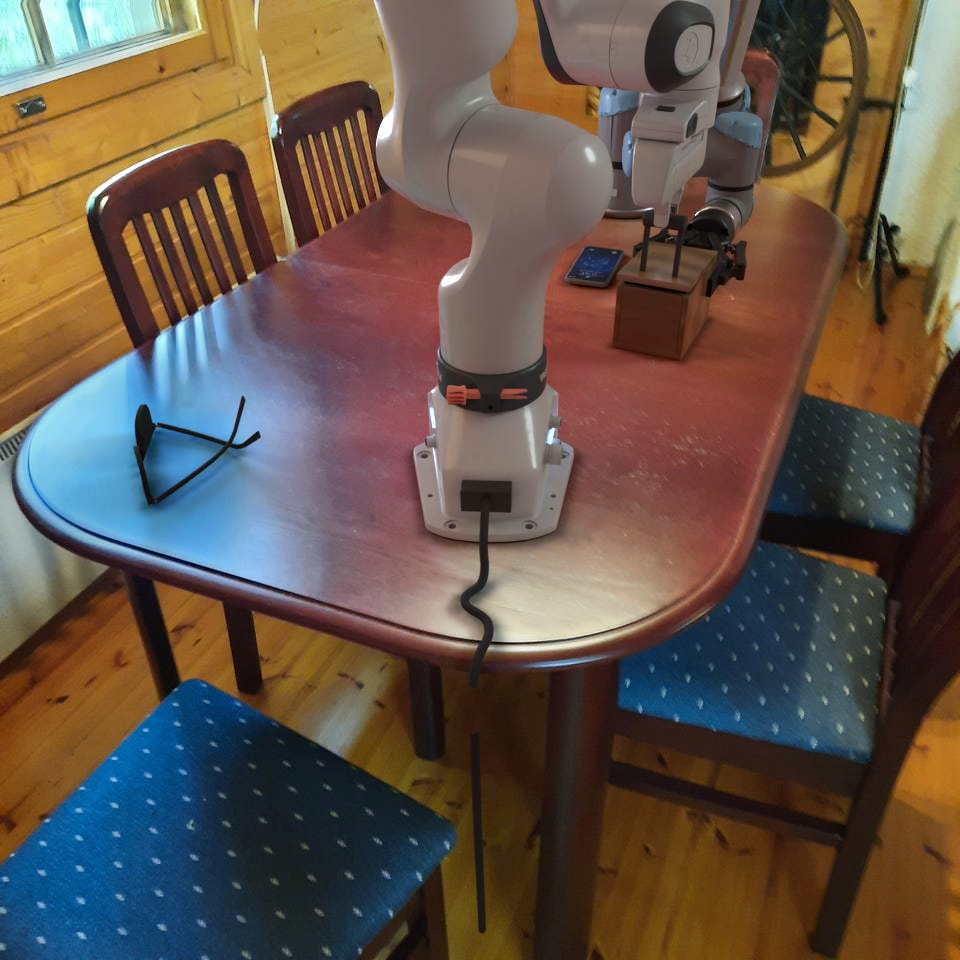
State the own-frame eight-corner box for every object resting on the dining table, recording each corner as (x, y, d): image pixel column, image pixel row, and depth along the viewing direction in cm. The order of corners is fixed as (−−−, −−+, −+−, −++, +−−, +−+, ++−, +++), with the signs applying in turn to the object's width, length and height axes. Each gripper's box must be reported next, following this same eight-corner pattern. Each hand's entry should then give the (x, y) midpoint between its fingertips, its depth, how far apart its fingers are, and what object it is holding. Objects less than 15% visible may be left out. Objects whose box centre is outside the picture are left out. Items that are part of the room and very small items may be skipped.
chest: (680, 360, 118) (689, 297, 113) (612, 346, 122) (616, 284, 116) (707, 317, 129) (717, 257, 123) (644, 306, 132) (649, 247, 127)
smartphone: (626, 249, 148) (607, 284, 137) (625, 255, 149) (607, 289, 137) (584, 244, 150) (562, 278, 139) (584, 249, 151) (562, 283, 139)
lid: (688, 292, 112) (698, 224, 107) (616, 279, 116) (622, 213, 111) (717, 257, 123) (727, 194, 118) (649, 246, 127) (657, 185, 122)
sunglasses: (270, 486, 97) (262, 449, 94) (137, 510, 94) (125, 474, 91) (257, 411, 110) (250, 377, 107) (140, 430, 107) (130, 396, 104)
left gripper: (677, 89, 112) (665, 195, 120) (626, 124, 97) (616, 243, 105) (725, 93, 110) (710, 201, 118) (681, 130, 95) (666, 251, 103)
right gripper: (778, 263, 138) (747, 319, 122) (643, 242, 146) (597, 292, 130) (787, 217, 133) (756, 270, 117) (647, 198, 142) (600, 245, 126)
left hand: (665, 221), depth 111 cm, fingers closed, pressing on lid
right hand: (672, 282), depth 124 cm, fingers closed on chest, 10 cm apart
